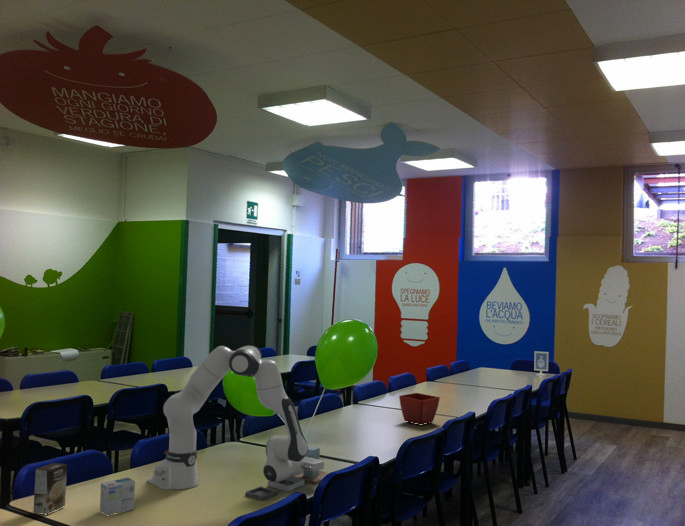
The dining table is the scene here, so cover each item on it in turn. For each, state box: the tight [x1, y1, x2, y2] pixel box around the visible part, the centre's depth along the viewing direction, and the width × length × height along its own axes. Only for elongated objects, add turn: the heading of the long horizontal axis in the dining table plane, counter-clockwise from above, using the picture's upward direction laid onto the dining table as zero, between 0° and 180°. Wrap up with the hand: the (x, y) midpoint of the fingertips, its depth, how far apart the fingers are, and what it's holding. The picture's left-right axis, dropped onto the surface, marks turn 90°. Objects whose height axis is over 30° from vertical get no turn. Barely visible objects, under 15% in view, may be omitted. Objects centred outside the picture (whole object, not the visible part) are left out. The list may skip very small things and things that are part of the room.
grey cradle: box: [267, 477, 305, 492], centre depth 261 cm, size 11×11×2 cm
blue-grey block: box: [303, 445, 321, 478], centre depth 273 cm, size 5×5×12 cm
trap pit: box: [244, 486, 278, 502], centre depth 248 cm, size 9×9×2 cm
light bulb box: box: [99, 476, 136, 516], centre depth 227 cm, size 11×7×11 cm, turn 135°
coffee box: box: [32, 462, 68, 514], centre depth 225 cm, size 9×6×16 cm
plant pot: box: [398, 392, 441, 424], centre depth 391 cm, size 19×19×17 cm
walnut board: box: [293, 470, 330, 485], centre depth 274 cm, size 14×14×1 cm
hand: (312, 458), depth 274 cm, fingers open, 8 cm apart
